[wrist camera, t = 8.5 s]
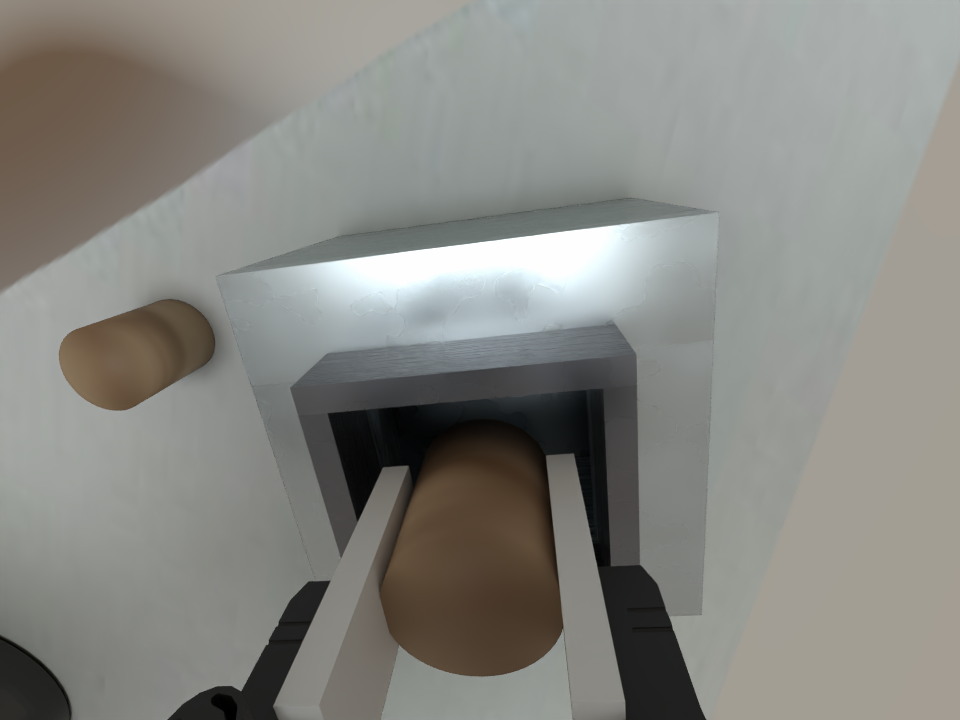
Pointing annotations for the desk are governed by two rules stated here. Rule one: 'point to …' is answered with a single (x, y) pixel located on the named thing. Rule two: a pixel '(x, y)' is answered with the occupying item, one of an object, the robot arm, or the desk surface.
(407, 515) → the pellet
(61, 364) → the pellet
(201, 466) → the desk surface
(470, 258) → the grey block with socket
